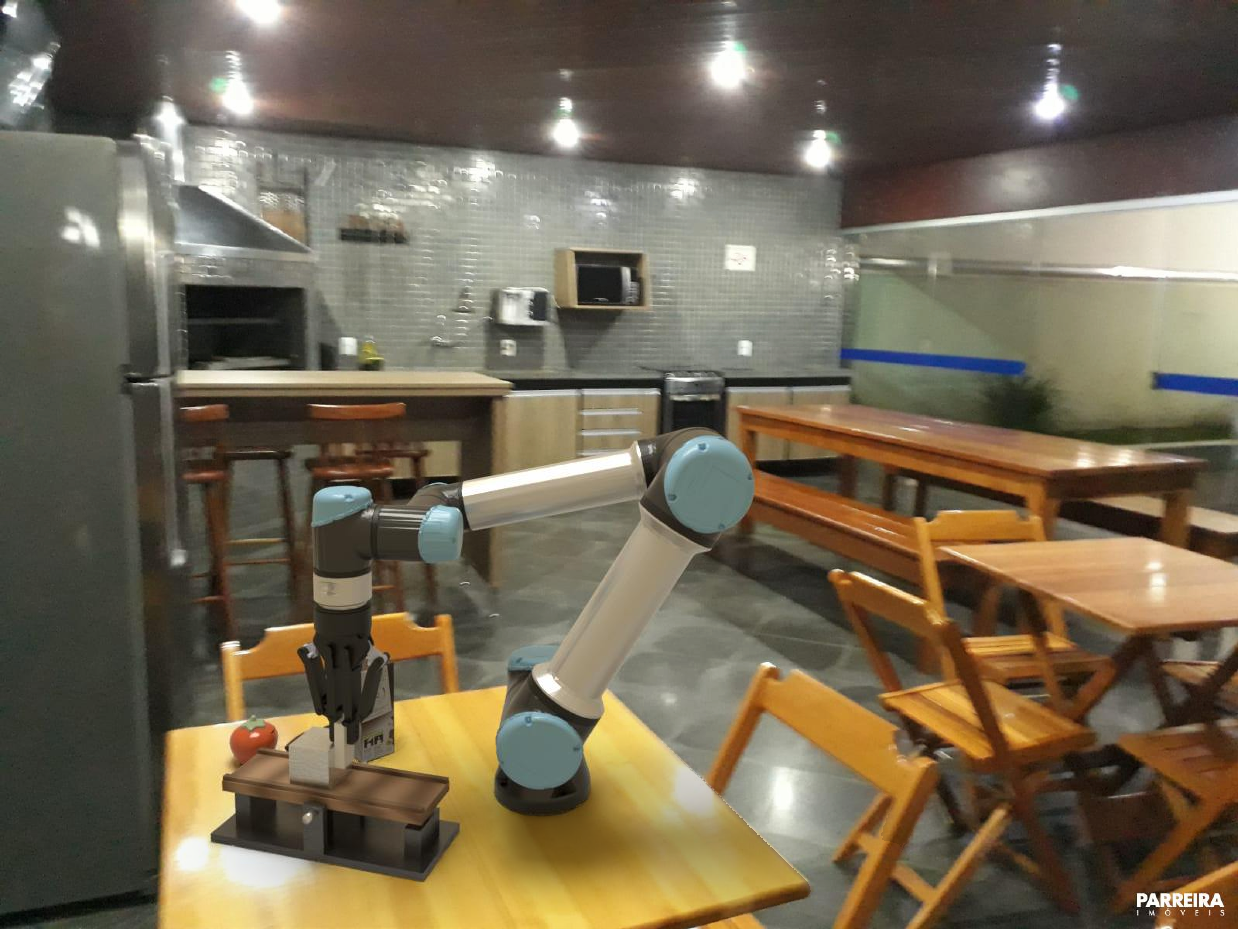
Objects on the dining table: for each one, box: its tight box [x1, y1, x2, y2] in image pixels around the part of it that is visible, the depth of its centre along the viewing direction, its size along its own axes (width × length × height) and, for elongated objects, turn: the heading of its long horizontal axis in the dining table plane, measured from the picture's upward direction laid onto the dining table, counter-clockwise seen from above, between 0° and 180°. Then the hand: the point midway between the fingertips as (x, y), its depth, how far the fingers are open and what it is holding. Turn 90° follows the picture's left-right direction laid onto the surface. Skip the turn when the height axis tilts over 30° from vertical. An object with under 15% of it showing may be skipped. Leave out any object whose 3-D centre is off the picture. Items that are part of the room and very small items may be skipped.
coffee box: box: [342, 655, 395, 763], centre depth 147 cm, size 9×6×16 cm
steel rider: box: [289, 725, 352, 791], centre depth 122 cm, size 6×6×6 cm
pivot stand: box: [210, 761, 461, 883], centre depth 122 cm, size 32×15×8 cm, turn 77°
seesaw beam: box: [221, 747, 450, 825], centre depth 122 cm, size 30×9×2 cm, turn 77°
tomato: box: [229, 714, 279, 765], centre depth 142 cm, size 7×7×8 cm
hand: (344, 763), depth 121 cm, fingers closed
